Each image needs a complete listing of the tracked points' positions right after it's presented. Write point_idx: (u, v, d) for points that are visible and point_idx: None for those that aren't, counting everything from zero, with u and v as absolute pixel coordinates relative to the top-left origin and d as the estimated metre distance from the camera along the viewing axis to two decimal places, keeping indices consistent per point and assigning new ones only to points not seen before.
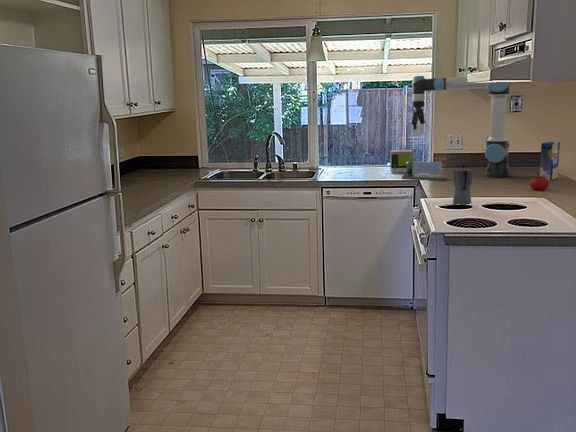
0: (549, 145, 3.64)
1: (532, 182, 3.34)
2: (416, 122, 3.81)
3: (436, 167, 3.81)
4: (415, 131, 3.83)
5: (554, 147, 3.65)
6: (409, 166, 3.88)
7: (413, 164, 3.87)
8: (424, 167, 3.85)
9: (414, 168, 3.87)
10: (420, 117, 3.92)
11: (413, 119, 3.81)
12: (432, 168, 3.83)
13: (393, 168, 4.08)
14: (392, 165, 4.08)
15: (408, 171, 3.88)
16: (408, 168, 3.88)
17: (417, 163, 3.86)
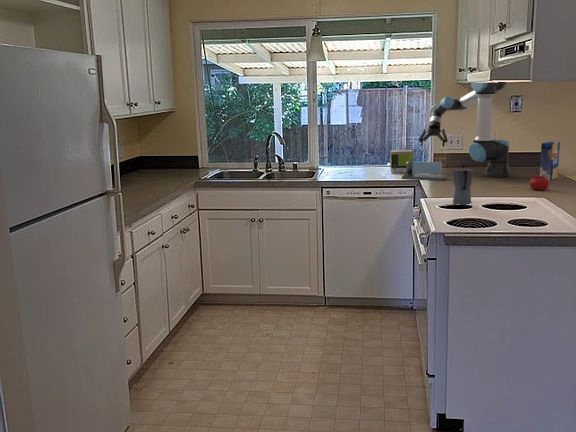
0: (549, 145, 3.64)
1: (532, 182, 3.34)
2: (422, 139, 4.02)
3: (436, 167, 3.81)
4: None
5: (554, 147, 3.65)
6: (409, 166, 3.88)
7: (413, 164, 3.87)
8: (424, 167, 3.85)
9: (414, 168, 3.87)
10: (438, 136, 4.01)
11: None
12: (432, 168, 3.83)
13: (393, 168, 4.08)
14: (392, 165, 4.08)
15: (408, 171, 3.88)
16: (408, 168, 3.88)
17: (417, 163, 3.86)
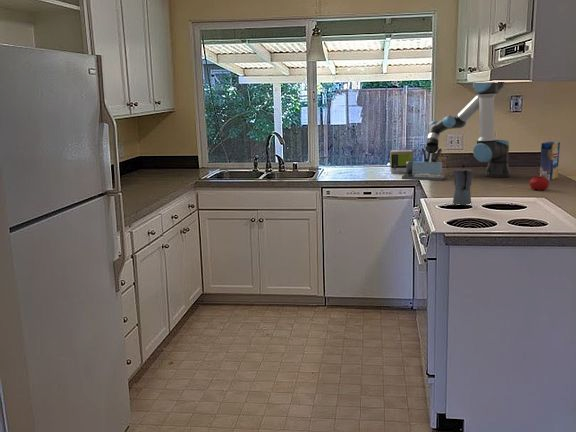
0: (549, 145, 3.64)
1: (532, 182, 3.34)
2: (427, 159, 3.91)
3: (436, 167, 3.81)
4: None
5: (554, 147, 3.65)
6: (409, 166, 3.88)
7: (413, 164, 3.87)
8: (424, 167, 3.84)
9: (414, 168, 3.87)
10: (432, 154, 3.94)
11: (424, 158, 3.94)
12: (432, 168, 3.82)
13: (393, 168, 4.08)
14: (392, 165, 4.08)
15: (408, 171, 3.88)
16: (408, 168, 3.88)
17: (417, 163, 3.86)
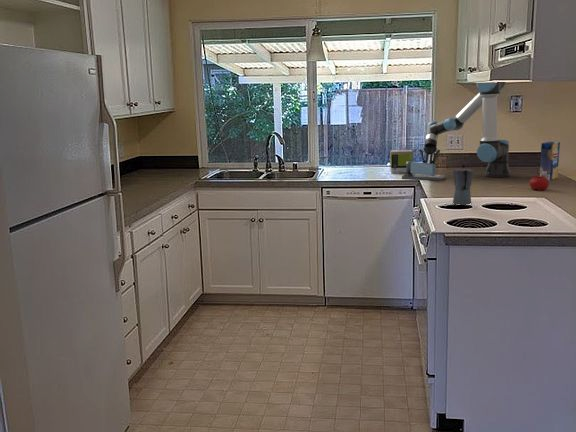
0: (549, 145, 3.64)
1: (532, 182, 3.34)
2: (425, 161, 3.85)
3: (428, 169, 3.75)
4: None
5: (554, 147, 3.65)
6: (407, 166, 3.88)
7: (411, 164, 3.86)
8: (419, 168, 3.81)
9: (412, 168, 3.86)
10: (430, 156, 3.88)
11: (422, 159, 3.88)
12: (425, 169, 3.77)
13: (393, 168, 4.08)
14: (392, 165, 4.08)
15: (407, 171, 3.89)
16: (407, 168, 3.89)
17: (414, 163, 3.84)
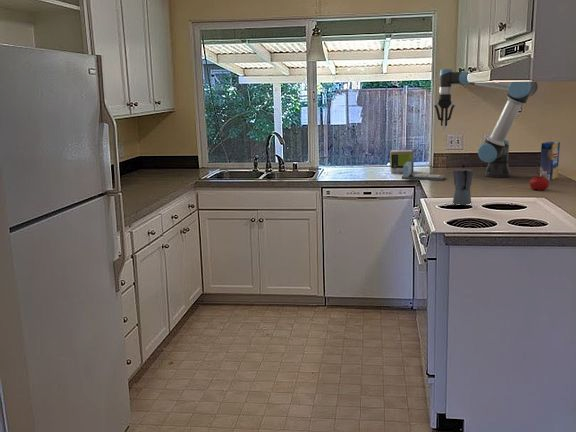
0: (549, 145, 3.64)
1: (532, 182, 3.34)
2: (440, 119, 3.90)
3: None
4: None
5: (554, 147, 3.65)
6: None
7: None
8: None
9: None
10: None
11: None
12: None
13: (393, 168, 4.08)
14: (392, 165, 4.08)
15: None
16: None
17: (406, 163, 3.85)
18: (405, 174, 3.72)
